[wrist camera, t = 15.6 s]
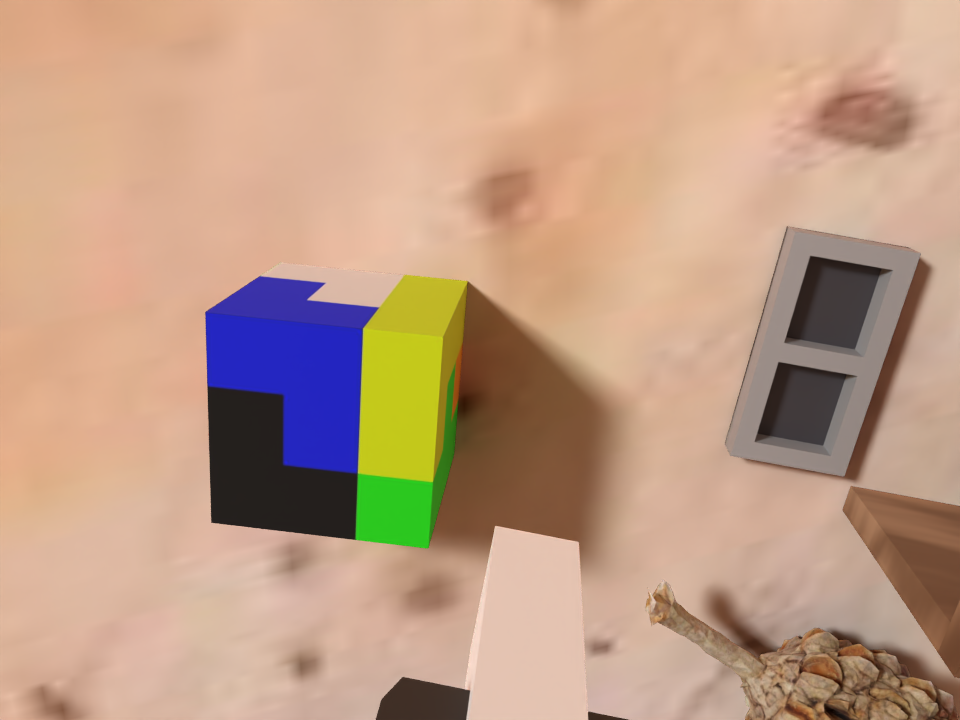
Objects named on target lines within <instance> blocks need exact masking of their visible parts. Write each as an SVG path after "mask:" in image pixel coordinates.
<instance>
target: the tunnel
mask: <svg viewBox="0 0 960 720" xmlns="http://www.w3.org/2000/svg"><path fill="white" fill-rule="evenodd" d="M843 512H844V513H845V515H846V516H847V518H848V519H849V521H850V522H851V524H852V525H853V527H854V528H855V529H856V531H857V532H858V534H859V535H860V537H861V538H862V540H863V541H864V543H865V544H866V546H867V547H868V549H869V550H870V552H871V553H872V555H873V556H874V558H875V559H876V561H877V562H878V564H879V565H880V567H881V568H882V570H883V571H884V573H885V574H886V576H887V577H888V579H889V580H890V582H891V583H892V585H893V586H894V588H895V589H896V591H897V592H898V594H899V595H900V597H901V598H902V600H903V601H904V603H905V604H906V606H907V607H908V609H909V610H910V612H911V613H912V615H913V616H914V618H915V619H916V621H917V622H918V624H919V625H920V627H921V628H922V630H923V631H924V632H925V634H926V635H927V637H928V638H929V640H930V641H931V643H932V644H933V646H934V647H935V649H936V650H937V652H938V653H939V655H940V656H941V658H942V659H943V661H944V662H945V664H946V665H947V667H948V668H949V670H950V671H951V673H952V674H953V676H954V677H957V678H960V506H956V505H951V504H945V503H940V502H934V501H929V500H923V499H918V498H913V497H907V496H902V495H896V494H891V493H885V492H880V491H875V490H869V489H864V488H858V487H853V486H851V487H850V490H849V493H848V496H847V499H846V502H845V505H844V507H843Z"/></svg>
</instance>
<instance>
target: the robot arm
mask: <svg viewBox="0 0 960 720" xmlns="http://www.w3.org/2000/svg"><path fill="white" fill-rule="evenodd" d="M376 720H628V719H623V718H617V717H612V716H607V715H602V714H597V713H592V712H588V707H587V687H586V668H585V649H584V630H583V611H582V592H581V573H580V554H579V542H577V541H571V540H566V539H561V538H556V537H551V536H546V535H540V534H535V533H530V532H525V531H520V530H515V529H510V528H504V527H499V526H495V529H494V534H493V539H492V544H491V549H490V554H489V560H488V565H487V570H486V575H485V580H484V585H483V590H482V595H481V600H480V605H479V610H478V615H477V620H476V625H475V630H474V635H473V640H472V645H471V650H470V656H469V662H468V669H467V676H466V683H465V689H460V688H455V687H450V686H445V685H440V684H435V683H430V682H425V681H420V680H415V679H410V678H405V677H402V678H401V679H400V680H399V682H398V683H397V684H396V685H395V686H394V687H393V688H392V689H391V690H390V691H389V692H388V693H387V694H386V695H385V696H384V697H383V699H382V700H381V703H380V707H379V710H378V714H377V717H376Z"/></svg>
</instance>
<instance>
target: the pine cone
mask: <svg viewBox="0 0 960 720" xmlns="http://www.w3.org/2000/svg"><path fill="white" fill-rule="evenodd" d="M647 588H648V587H647ZM648 594H649V599H647V603H646V611H647V612H648V613H649V615H650V620H651V626H652V625H654V624H655V623H657V622H658V623H660V624H662V625H664V626H666V627H668V628H670V629H671V630H673V631H675V632H676V633H678V634H680V635H683V636H685V637H687V638H688V639H689V640H691V641H692V642H694V643H696V644H698V645H699V646H700V647H701V648H702V649H703V650H704V651H705V652H706V653H707V654H709V655H711V656H712V657H714V658H716V659H717V660H719V661H720V662H722V663H723V664H725V665H726V666H728V667H730V668H731V669H732V670H733V671H734V672H735V673H736V674H738V675H739V676H740V677H741V680H742V682H743V683H742V685H741V687H743V689H744V692H745V694H746V696H745V701H746V706H748V707H750V709H749V711H748V713H747V715H746V717H745V720H958V718H959V716H958V713H957V710H956V707H955V706H954V700H953V695H951V694H949V693H947V692H945V691H942V690H940V689H937V688H936V686H934V685H932V682H931V681H927V680H922V679H918V678H914V677H910V673H909V670H908V669H907V667H906V665H903V664H899V662H898V660H897V658H896V656H893V655H890V654H887V652H886V651H885V650H868V649H866V648H865V647H864V646H862V645H861V644H856V645H853V646H852V644H851V643H850V641H849V640H838V639H837V638H835V637H834V636H833V635H832V634H831V633H829V632H825V631H824V630H822V629H820V628H814V629H812V630H811V631H809V632H807V633H805V634H804V636H803V638H802V639H800V638H799V637H798V636H796V637H794V638H792V639H790V640H784V643H783V645H782V648H778V650H777V652H770V653H765V654H761V655H760V656H759V657H758V658H757V657H755V656H754V655H753V654H751V653H750V652H748V651H746V650H745V649H743V648H741V647H739V646H738V645H736V644H734V643H733V642H731V641H730V640H729V639H727V638H726V637H725V636H723V635H722V634H721V633H719V632H717V631H716V630H714V629H712V628H711V627H709V626H708V625H706V624H705V623H703V622H702V621H700V620H699V619H697V618H696V617H694V616H692V615H691V614H689V613H688V612H687V611H686V610H685V609H684V608H683V607H682V606H681V605H679V604H678V603H676V600H675V598H674V595H673V592H672V589H671V587H670V585H669V584H668V583H667V582H665V581H664V580H662V581H661V583H660V584H659V585H658V587H657V589H656V590H655V592H654V594H653V595H652V594H651V592H650V591H649V589H648Z"/></svg>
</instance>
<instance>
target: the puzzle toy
mask: <svg viewBox="0 0 960 720" xmlns="http://www.w3.org/2000/svg"><path fill="white" fill-rule="evenodd" d="M467 284H468V281H461V280H451V279H441V278H431V277H421V276H411V275H401V274H391V273H381V272H371V271H361V270H351V269H341V268H331V267H321V266H311V265H301V264H291V263H279V264H278V265H276V266H274V267H273V268H271V269H270V270H268V271H267V272H265V273H264V274H262V275H261V276H259V277H258V278H256V279H255V280H253V281H252V282H250V283H249V284H247V285H246V286H244V287H243V288H241V289H240V290H238V291H237V292H235V293H234V294H232V295H231V296H229V297H228V298H226V299H224V300H223V301H221V302H220V303H218V304H217V305H215V306H214V307H212V308H211V309H209V310H208V311H206V312H205V315H206V350H207V384H208V419H209V454H210V489H211V523H219V524H227V525H235V526H244V527H252V528H261V529H269V530H277V531H286V532H294V533H303V534H311V535H319V536H328V537H336V538H345V539H353V540H361V541H370V542H378V543H387V544H395V545H403V546H412V547H420V548H429V544H430V541H431V537H432V533H433V530H434V526H435V522H436V519H437V515H438V511H439V508H440V504H441V500H442V497H443V493H444V489H445V486H446V482H447V479H448V475H449V471H450V468H451V464H452V460H453V457H454V450H455V437H456V424H457V412H458V399H459V386H460V373H461V361H462V348H463V335H464V322H465V310H466V297H467Z"/></svg>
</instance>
